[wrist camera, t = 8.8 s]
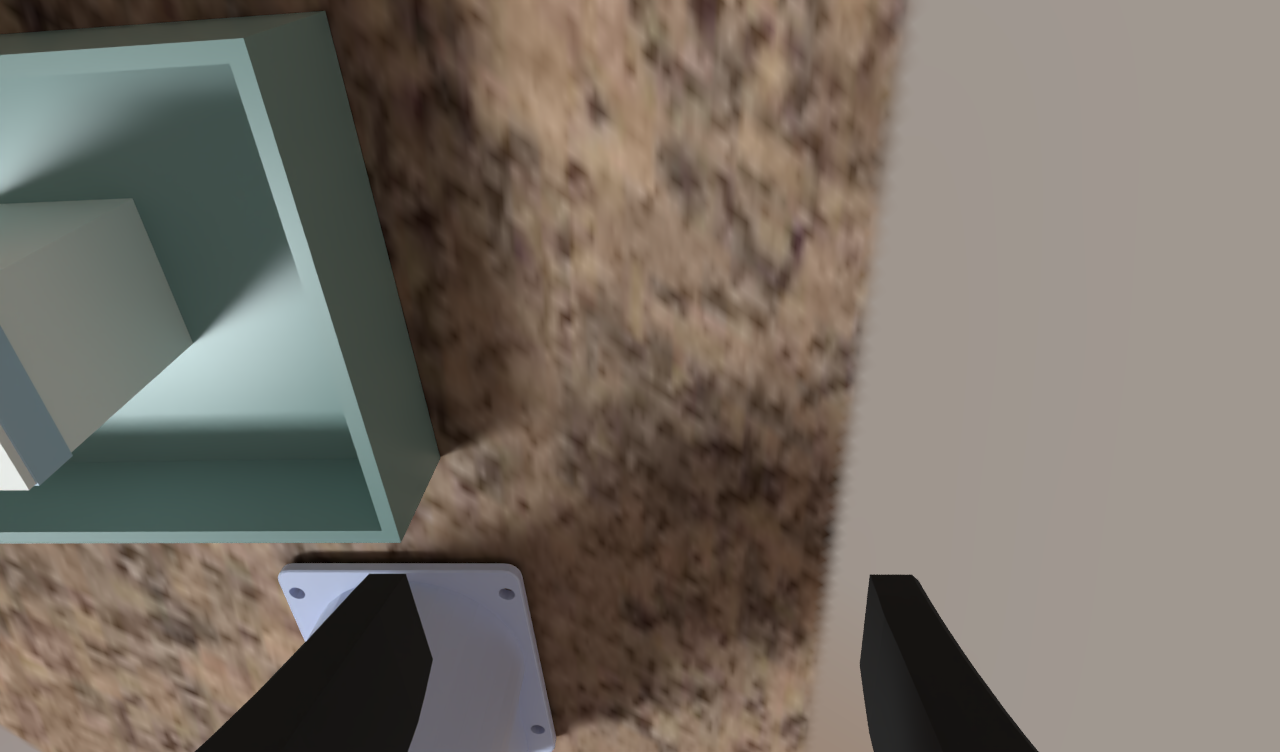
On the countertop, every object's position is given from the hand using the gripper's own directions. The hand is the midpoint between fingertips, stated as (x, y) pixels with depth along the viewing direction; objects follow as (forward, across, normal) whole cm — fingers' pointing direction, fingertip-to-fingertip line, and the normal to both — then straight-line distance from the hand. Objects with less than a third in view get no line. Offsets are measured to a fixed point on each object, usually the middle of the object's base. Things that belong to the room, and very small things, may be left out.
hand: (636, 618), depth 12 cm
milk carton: (+9, +14, -2) cm, 17 cm away
